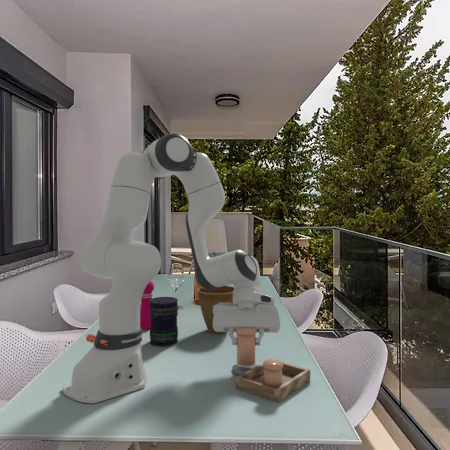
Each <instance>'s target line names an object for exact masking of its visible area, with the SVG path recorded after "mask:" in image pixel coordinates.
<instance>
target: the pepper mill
mask: <svg viewBox="0 0 450 450" xmlns="http://www.w3.org/2000/svg"><path fill="white" fill-rule="evenodd" d="M154 290H155V284H154V282H153V281H152V280H151V281H150V282H149V283H148V284H147V286H146V288H145V290H144V292H143V295H142V298H141V305H140V327H141V328H142V331H144V330H150V327H151V317H150V299H153V298H154V294H153V293H154V292H153V291H154Z"/></svg>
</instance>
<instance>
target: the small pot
mask: <svg viewBox="0 0 450 450" xmlns="http://www.w3.org/2000/svg"><path fill="white" fill-rule="evenodd" d="M270 359H271V358H270ZM270 359H266V360H264V361H262V363H263V368H264V384H265V385H268V386H271V387H274V388H278V387H279V386H281V385H282V369H283V363H284V362H283V361H282V360H279V359H273V358H272V359H271V360H270Z"/></svg>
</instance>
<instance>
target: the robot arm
mask: <svg viewBox="0 0 450 450" xmlns="http://www.w3.org/2000/svg"><path fill="white" fill-rule="evenodd" d="M171 176H175V177H177V178H178V179H179V181H180V182H181V184H182V185H183V188H184V191H185V193H186V196H187V199H188V212H187V213H186V214H185V226H186V232H187V236H188V237H187V238H188V240H189V241H188V242H189V247H190V250H191V251H190V252H191V254H192V260H193V266H194V267H193V269H194V276H195V281H196V283H197V285H199V286H200V288H201V287H202V288H204V289H206V290H208V291H213V290H215V289H218V288H220V287H222V286H230V285H233V287H234V291H233V302H232V303H222V302H219V303H218V304H215V305H214V306H213V314H214V317H213V329H214V330H215V331H216V332H224V333H228V335H229V337H230V340H231V345H232V346H237V336H234V333H236V328H237V327H255V328H256V329H257V333H258V337H255V346H261V341H262V339H263V337H264V336H265V333H268V334H269V333H272V334H273V333H275V334H277V333H279V332H280V330H281V317H280V312H279V310H278V308H277V306H276V300H275V298H274V297H273V296H270V295H266V294H263V293H261V290H260V286H261V282H262V281H261V271H260V265H259V262H258V260H257V258H255V257H254V256H252V255H250V254H249V253H247V252H245V251H244V250H242V249H236V250H232V251H229V252H225V253H223V254H220V255H216V256H213V257H211V256H210V255H209V252H208V247H207V243H206V237H205V230H206V229H205V228H206V226H207V225H208V223H209V222H210V221H211V220H213V218H215V216H217V215H218V214H219V213H220V212H221V210H222V209H223V207H224V205H225V202H226V194H225V190H224V187H223V185H222V182H221V180H220V177H219V174H218V172H217V171H216V169H215V167H214V165H213V163H212V161H211V160H210V158H209V156H208V155H207V154H205V153H203V152H197V150H196V149H195V147H194V146H193V145H192V144H191V142H190V141H189V140H188V138H186V137H185V136H183V135H182V134H179V133H173V132H172V133H167V134H165V135H162V136H161V137H160V138H158V139H156V140H154V141H152V142H151V143H150V144H149V145H148V146H147V147H146V148H145V149H143V150H142V152H141V153H139V152H136V151H135V152H127V153H124V154H123V155H122V156H120V157H119V160H118V162H117V165H116V167H115V170H114V174H113V177H112V181H111V186H110V191H109V196H108V200H107V206H106V210H105V214H104V217H103V219H102V221H101V223H100V225H99V227H98V228H97V230H96V231H95V233H94V234H93V236H92V237H91V238H90V239H88V240H87V241H85V243H84V244H83V245H82V246H81V248H80V249H79V252H78V257H77V259H78V261H77V263H78V265H79V267H80V269H81V270H82V271H83V272H84V273H86V274H88V275H91V276H93V277H96V278H100V279H107V280H112V283H111V288H110V291H109V293H108V294H107V295H105V296H103V298H101V300H99V303H98V328H99V329H98V330H97V332H96V335H94V334H91V333H89V334H87V335H86V337H85V341H86V342H90V343H91V344H92V343H93V346H92V347H91V348H90V349H89V350H88V352H86V354H85V355H83V356H82V358H80V359H79V361H78V362H77V363H76V364H75V365H74V366H73V369H72V374H71V381H69V382H67V383H65V384H63V386H62V392H63V394H64V395H65V396H66V397H68V398H70V399H71V400H74V401H77V402H80V403H85V404H97V403H101V402H104V401H106V400H107V401H108V400H109V399H113V398H116V397H119V396H122V395H125V394H129V393H132V392H135V391H138V390H141V389H142V390H143V388H145V387H146V383H145V382H146V380H147V378H148V377H147V373H146V370H145V366H144V361H143V355H142V344H141V343H142V341H143V329H142V328H141V327H140V306H141V298H142V295H143V292H144V290H145V288H146V286H147V284H148V283H149V282H150V281H151V282H152V280H153V279H155V278H156V277H157V275H158V274H159V272H160V270H161V266H162V257H161V254H160V251H159V250H158V248H157V247H156V246H155V245H152V244H150V243H147V242H143V241H140V240H130V239H131V237H132V235H133V234H134V232H135V231H136V230H137V229H138V228H140V227H141V226H143V225H144V224H145V222H146V220H147V218H148V212H149V211H148V210H149V207H150V200H151V194H152V185H153V183H154V180H161V179H165V178H167V177H171Z"/></svg>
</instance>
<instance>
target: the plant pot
mask: <svg viewBox="0 0 450 450" xmlns="http://www.w3.org/2000/svg"><path fill="white" fill-rule="evenodd" d="M233 291H234V286H230V285H226V286H222V287H220V288H218V289H215V290H213V291H208V290H206V289H204V288H202V287H201V286H200V288H198V289H197V295H198V302H199V306H200V311H201V315H202V318H203V320H204V323H205V326H206V329H207V331H208V332H209V333H212V334H223V333H225V332H216V331H215V330H214V329H213V317H214V314H213V306H214V305H215V304H218V303H219V302H222V303H232V302H233Z"/></svg>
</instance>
